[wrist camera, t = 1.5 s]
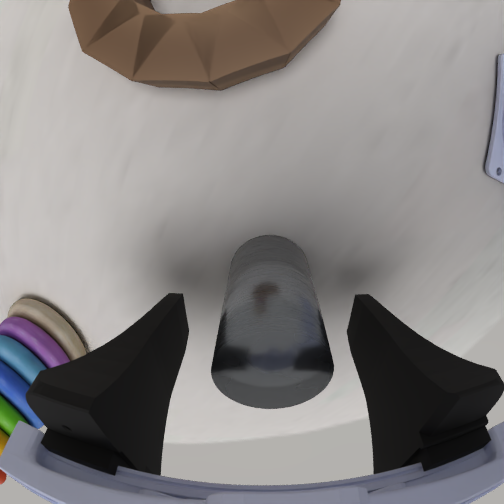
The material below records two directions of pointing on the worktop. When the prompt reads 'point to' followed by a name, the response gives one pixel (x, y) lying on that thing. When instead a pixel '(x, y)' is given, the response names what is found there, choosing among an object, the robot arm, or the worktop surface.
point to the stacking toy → (30, 359)
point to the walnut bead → (197, 39)
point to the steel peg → (271, 329)
